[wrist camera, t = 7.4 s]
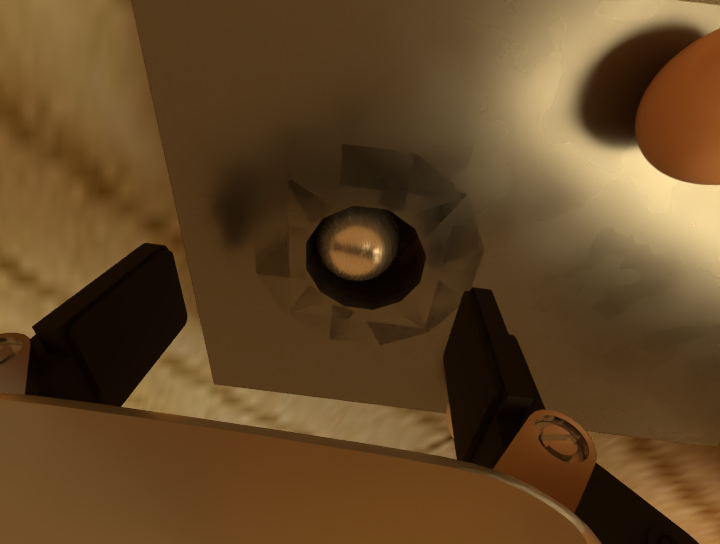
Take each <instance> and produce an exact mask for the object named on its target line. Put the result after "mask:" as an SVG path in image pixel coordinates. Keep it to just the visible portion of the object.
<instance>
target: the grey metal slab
mask: <svg viewBox="0 0 720 544" xmlns="http://www.w3.org/2000/svg"><path fill="white" fill-rule="evenodd" d="M131 2H132V6H133V11H134V16H135V20H136V25H137V29H138V34H139V39H140V43H141V48H142V53H143V57H144V62H145V66H146V71H147V76H148V80H149V85H150V90H151V94H152V99H153V103H154V108H155V113H156V117H157V122H158V127H159V131H160V136H161V140H162V145H163V150H164V154H165V159H166V164H167V168H168V173H169V177H170V182H171V187H172V191H173V196H174V201H175V205H176V210H177V214H178V219H179V224H180V228H181V233H182V238H183V242H184V247H185V251H186V256H187V261H188V265H189V270H190V275H191V279H192V284H193V288H194V293H195V298H196V302H197V307H198V312H199V316H200V321H201V325H202V330H203V335H204V339H205V344H206V349H207V353H208V358H209V362H210V367H211V372H212V376H213V381H214V384H217V385H225V386H233V387H241V388H249V389H257V390H265V391H273V392H281V393H289V394H296V395H304V396H312V397H320V398H328V399H336V400H344V401H352V402H360V403H368V404H376V405H384V406H392V407H400V408H408V409H416V410H424V411H432V412H440V413H446V409H447V405H448V402H449V399H448V392H447V385H446V378H445V371H444V364H443V356H444V351H445V347H446V344H447V341H448V338H449V335H450V332H451V329H452V326H453V323H454V320H455V317H456V314H457V311H458V308H459V305H460V301H461V298H462V295H463V293H464V291H470V289H471V288H472V287H476V288H483V289H490V290H492V292H493V294H494V297H495V300H496V302H497V305H498V307H499V310H500V313H501V315H502V318H503V320H504V323H505V326H506V328H507V331H508V333H509V334H512V335H514V336H515V337H516V339H517V340H518V343H519V345H520V348H521V350H522V353H523V355H524V358H525V360H526V362H527V365H528V367H529V370H530V372H531V375H532V377H533V380H534V382H535V384H536V387H537V389H538V392H539V394H540V397H541V399H542V402H543V404H544V406H545V409H546V410H553V411H556V412H559V413H562V414H564V415H565V416H567V417H569V418H571V419H572V420H574V421H575V422H576V423H577V424H579V425H580V426H581V427H582V428H583V429H584V430H585V431H591V432H599V433H607V434H615V435H623V436H631V437H639V438H647V439H655V440H663V441H671V442H679V443H687V444H695V445H703V446H710V447H716V446H717V445H718V444H720V185H698V184H692V183H687V182H682V181H679V180H676V179H674V178H671V177H668V176H667V175H665V174H663V173H661V172H660V171H658V170H656V169H655V168H654V167H653V166H652V165H651V164H650V163H649V162H648V161H647V160H646V159H645V157H644V156H643V154H642V152H641V150H640V148H639V146H638V144H637V140H636V134H635V119H636V114H637V110H638V107H639V104H640V101H641V99H642V97H643V95H644V93H645V91H646V89H647V87H648V86H649V84H650V83H651V81H652V80H653V79H654V77H655V76H656V75H657V74H658V72H659V71H660V70H661V69H662V68H663V67H664V66H665V65H666V64H667V63H668V62H669V61H670V60H671V59H672V58H673V57H674V56H676V55H677V54H678V53H679V52H681V51H682V50H683V49H685V48H686V47H687V46H689V45H690V44H691V43H693V42H695V41H696V40H698V39H700V38H701V37H703V36H705V35H707V34H709V33H711V32H713V31H715V30H717V29H719V28H720V5H714V4H705V3H696V2H687V1H678V0H131ZM352 206H361V207H369V208H378V209H386V210H390V211H391V212H392V213H394V214H395V215H397V216H398V217H399V218H401V219H402V220H403V221H405V222H406V223H408V224H409V225H410V226H412V227H413V228H415V229H416V232H417V233H416V238H415V241H414V242H413V243H412V244H411V245H410V246H409V247H408V248H407V249H406V251H405V252H404V253H403V254H402V255H401V256H400V257H399V258H396V259H394V260H393V262H392V263H391V265H390V266H389V267H388V268H387V269H386V270H385V271H384V272H383V273H381V274H380V275H378V276H376V277H374V278H372V279H368V280H364V281H351V280H347V279H344V278H341V277H339V276H337V275H335V274H334V273H332V272H331V271H330V270H329V269H328V268H327V267H326V266H325V265H324V263H323V262H322V260H321V258H320V256H319V254H318V250H317V246H316V233H317V228H318V225H319V223H320V222H321V220H322V219H323V218H325V217H327V216H329V215H332V214H334V213H337V212H339V211H342V210H344V209H347V208H349V207H352Z"/></svg>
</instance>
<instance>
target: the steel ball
mask: <svg viewBox="0 0 720 544" xmlns="http://www.w3.org/2000/svg"><path fill="white" fill-rule="evenodd" d="M316 246H317V250H318V254H319V256H320V258H321V260H322V262H323V263H324V265H325V266H326V267H327V268H328V269H329V270H330V271H331V272H332V273H334V274H335V275H337V276H339V277H341V278H344V279H347V280H351V281H364V280H368V279H372V278H374V277H376V276H378V275H380V274H381V273H383V272H384V271H385V270H386V269H387V268H388V267H389V266H390V265H391V263H392V262H393V260H394V258H395V256H396V253H397V250H398V246H399V233H398V228H397V225H396V223H395V221H394V219H393V217H392V215H391V214H390V213H389V212H388V211H387V210H386V209H378V208H369V207H361V206H352V207H349V208H347V209H344V210H342V211H339V212H337V213H334V214H332V215H329V216H327V217H325V218H323V219H322V220H321V222H320V223H319V225H318V228H317V233H316Z"/></svg>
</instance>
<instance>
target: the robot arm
mask: <svg viewBox="0 0 720 544" xmlns="http://www.w3.org/2000/svg"><path fill="white" fill-rule="evenodd" d="M186 322H187V312H186V307H185V303H184V299H183V295H182V290H181V286H180V282H179V277H178V273H177V269H176V265H175V260H174V256H173V253H172V252H171V251H169V250H168V248H167V247H166V246H164V245H158V244H150V243H144V244H142V245H141V246H140V247H138V248H137V249H136V250H134V251H133V252H131V253H130V254H129V255H127V256H126V257H125V258H123V259H122V260H121V261H119V262H118V263H117V264H115V265H114V266H113V267H111V268H110V269H109V270H107V271H106V272H105V273H103V274H102V275H101V276H99V277H98V278H97V279H95V280H94V281H93V282H91V283H90V284H89V285H87V286H86V287H85V288H83V289H82V290H81V291H79V292H78V293H77V294H75V295H74V296H72V297H71V298H70V299H68V300H67V301H66V302H64V303H63V304H62V305H60V306H59V307H58V308H56V309H55V310H54V311H52V312H51V313H50V314H48V315H47V316H46V317H44V318H43V319H42V320H40V321H39V322H38V323H36V324H35V325H34V326H32V328H33V329H34V331H35V333H36V335H35V336H34V337H32V338H31V339H30V338H29V337H27V336H26V335H25V334H20V333H3V334H0V544H699V543H698V542H697V541H696V540H694V539H693V538H692V537H691V536H690V535H689V534H688V533H686V532H685V531H684V530H682V529H681V528H680V527H679V526H677V525H676V524H675V523H673V522H672V521H671V520H670V519H668V518H667V517H666V516H664V515H663V514H662V513H660V512H659V511H658V510H657V509H655V508H654V507H653V506H651V505H650V504H649V503H648V502H646V501H645V500H644V499H642V498H641V497H640V496H639V495H637V494H636V493H635V492H633V491H632V490H631V489H629V488H628V487H627V486H626V485H624V484H623V483H622V482H620V481H619V480H618V479H617V478H615V477H614V476H613V475H611V474H610V473H609V472H608V471H606V470H605V469H604V468H602V467H601V466H600V465H598V464H597V463H596V459H597V452H596V448H595V445H594V443H593V441H592V439H591V438H590V436H589V435H588V434H587V432H586V431H585V430H584V429H583V428H582V427H581V426H580V425H579V424H577V423H576V422H575V421H574V420H572V419H571V418H569V417H567V416H565V415H564V414H562V413H559V412H556V411H553V410H546V409H545V406H544V404H543V402H542V399H541V397H540V394H539V392H538V389H537V387H536V384H535V382H534V380H533V377H532V375H531V372H530V370H529V367H528V365H527V362H526V360H525V358H524V355H523V353H522V350H521V348H520V345H519V343H518V340H517V339H516V337H515V336H514V335H512V334H509V333H508V331H507V328H506V326H505V323H504V320H503V318H502V315H501V313H500V310H499V307H498V305H497V302H496V300H495V297H494V294H493V292H492V290H490V289H483V288H476V287H472V288H471V289H470V291H464V293H463V295H462V298H461V301H460V305H459V308H458V311H457V314H456V317H455V320H454V323H453V326H452V329H451V332H450V335H449V338H448V341H447V344H446V347H445V351H444V356H443V364H444V371H445V378H446V385H447V392H448V399H449V406H450V413H451V421H452V428H453V435H454V442H455V449H456V456H457V460H455V459H450V458H446V457H441V456H435V455H429V454H424V453H418V452H412V451H406V450H400V449H395V448H389V447H383V446H377V445H370V444H364V443H357V442H351V441H345V440H338V439H332V438H325V437H319V436H312V435H306V434H300V433H293V432H287V431H280V430H273V429H267V428H260V427H253V426H247V425H240V424H234V423H227V422H220V421H213V420H207V419H200V418H193V417H187V416H180V415H173V414H166V413H159V412H152V411H145V410H138V409H131V408H124V407H121V406H122V405H123V403H124V402H125V401H126V400H127V398H128V397H129V396H130V394H131V393H132V392H133V391H134V389H135V388H136V387H137V386H138V384H139V383H140V382H141V380H142V379H143V378H144V377H145V375H146V374H147V373H148V372H149V370H150V369H151V368H152V367H153V365H154V364H155V363H156V361H157V360H158V359H159V358H160V356H161V355H162V354H163V353H164V351H165V350H166V349H167V347H168V346H169V345H170V344H171V342H172V341H173V340H174V339H175V337H176V336H177V335H178V333H179V332H180V331H181V330H182V328H183V327H184V326H185V324H186Z"/></svg>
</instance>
